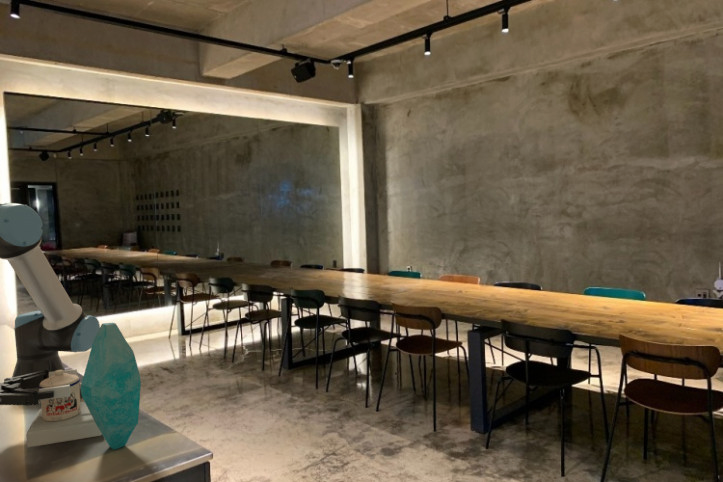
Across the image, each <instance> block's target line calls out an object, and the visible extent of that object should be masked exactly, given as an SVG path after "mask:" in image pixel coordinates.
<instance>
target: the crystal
mask: <svg viewBox="0 0 723 482" xmlns="http://www.w3.org/2000/svg"><path fill="white" fill-rule="evenodd" d="M88 356H89V357H88V360H87V363H86V367H85V370H84V373H83V376H82V379H81V380H82V381H81V382H80V383H81V386H80V395H81V399H82V398H83V400H84V402H85V403H86V405H87V407H88V409H89V411H90V413H91V415H92V417H93V419H94V421H95V423H96V425H97V427H98V428H99V430H100V432H101V433H102V435H101V436H102V437H103V439H104V440H105V441H106V443H107V444H108V447H110V448H111V449H112V450H118V449H120V448H123V447H125V446H126V445H127V444H128V441H129V439H130V437H131V435H132V434H133V431H134V430H135V428H136V427H137V425H138V423H139V416H140V402H141V401H140V400H141V387H142V386H141V385H142V381H141V376H140V375H141V374H140V371H139V367H138V362H137V359H136V356H135V352H134V350H133V349H132V347H131V346H130V344H129V342H128V341H127V339H126V338H125V336H124V334H123V333H122V331H121V330H120V328H119V327H118V325H117V323H116V322H107V323H101V325H100V329H99V331H98V333H97V335H96V337H95V339H94V341H93V344H92V348H91V349H90V351H89V355H88Z"/></svg>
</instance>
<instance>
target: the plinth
mask: <svg viewBox="0 0 723 482" xmlns="http://www.w3.org/2000/svg"><path fill="white" fill-rule="evenodd" d="M25 435H26V448H31V447H40V446H44V445H51V444H58V443H62V442H69V441H77V440H83V439H88V438H93V437H101V436H103V435H102V433H101V432H100V430H99V428H98V427H97V425H96V423H95V421H94V419H93V417H92V415H91V413H90V411H89V409H88V407H87V405H86V403H85V402H81V411H80V413H79V414H77V415H76V416H74V417H72V418H69V419H65V420H61V421H46V420H44V419H43V418H42V408H39V410H38V412H37V414H36V415H35V417H34V419H33V421H32V422H31V424H30V426H29V428H28V430H27V431H26V434H25Z"/></svg>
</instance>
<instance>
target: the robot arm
mask: <svg viewBox="0 0 723 482" xmlns="http://www.w3.org/2000/svg"><path fill="white" fill-rule="evenodd" d="M42 227H43V220H42V219H41V217H40V215H39V213H37V211H36V210H34V209H33V208H32V207H31V206H28V205H27V204H22V203H15V202H5V203H0V259H1V260H6V261H8V263H9V265H10V266H11V268H12V270H13V271H14V273H15V274H16V276H17V277H18V279H19V280H20V281H21V284H22V285H23V286H24V288H25V290H26V291H27V293H28V294H29V295H30V298H32V301H33V302H34V304H35V305H36V307H37V308H38V309H39V310H35V311H29V312H25V313H21V314H18V315H17V316H16V317H15V319H14V328H13V329H14V339H15V352H16V363H15V366H14V368H13V372H12V374H11V377H6V378H4V379H3V382H0V406H38V405H39V401H40V402H41V401H42V400H49V399H56V398H64V397H70V385H66V386H58V387H50V388H43V389H40V388H39V385H40V383H41V382H42V381H43V380H45V379H47V378H49V377H50V376H52V375H54V374H55V371H57V370H63V371H64V373H68V374H73V375H77V376H78V369H77V368H72V369H65V368H66V367H65V365H64V364H63V362H62V359H61V358H60V354H59V352H66V353H67V352H68V353H83V352H87V351H89V350H91V348H92V344H93V341H94V339H95V337H96V335H97V333H98V331H99V329H100V327H101V325H100V321H99V319H98V318H97V317H96V316H93V315H91V314H89V315H87V314H86V313H85V311H84V309H83V307H81V305H80V304H78V303H73V302H72V300H71V298H70V296H69V294H68V293H67V291H66V289H65V288H64V287H63V284H62V283H61V281H60V280H59V278H58V276H57V274H56V273H55V271H54V269H53V267H52V265H51V263H50V262H49V260H48V259H47V256H45V254H44V252H43V250H42V249H41V247H40V245H41V243H42V235H43V231H44V229H42ZM37 387H38V388H39V389H38V390H35V389H31V388H37Z"/></svg>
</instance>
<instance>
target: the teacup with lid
mask: <svg viewBox="0 0 723 482" xmlns="http://www.w3.org/2000/svg"><path fill="white" fill-rule="evenodd" d="M80 378H81V377H80V376H78V374H77V375H73V374H68V373H64V371H63V370H57V371H55V374H54V375H52V376H50V377H49V378H47V379H45V380H43V381H42V382H41V383H40V385H39V387H38V388H39V389H43V388H50V387H58V386H66V385H70V397H64V398H56V399H49V400H42V401H40V402H41V403H40V404H41V406H40V407H41V409H42V418H43V419H44V420H46V421H61V420H65V419H69V418H72V417H74V416H76V415H77V414H79V413H80V411H81V402H84V400H83V398H82V397H81V383H82V382H81V379H80Z"/></svg>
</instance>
